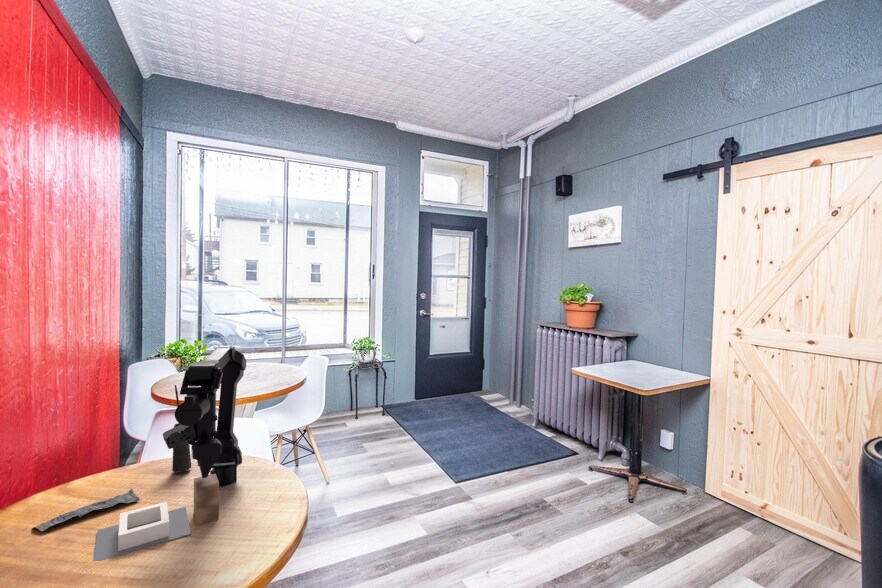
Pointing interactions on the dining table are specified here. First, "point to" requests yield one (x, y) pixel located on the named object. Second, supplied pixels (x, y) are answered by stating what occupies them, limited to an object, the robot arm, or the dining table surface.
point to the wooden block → (206, 499)
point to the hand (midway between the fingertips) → (202, 471)
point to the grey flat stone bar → (90, 509)
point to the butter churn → (181, 451)
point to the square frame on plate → (141, 530)
